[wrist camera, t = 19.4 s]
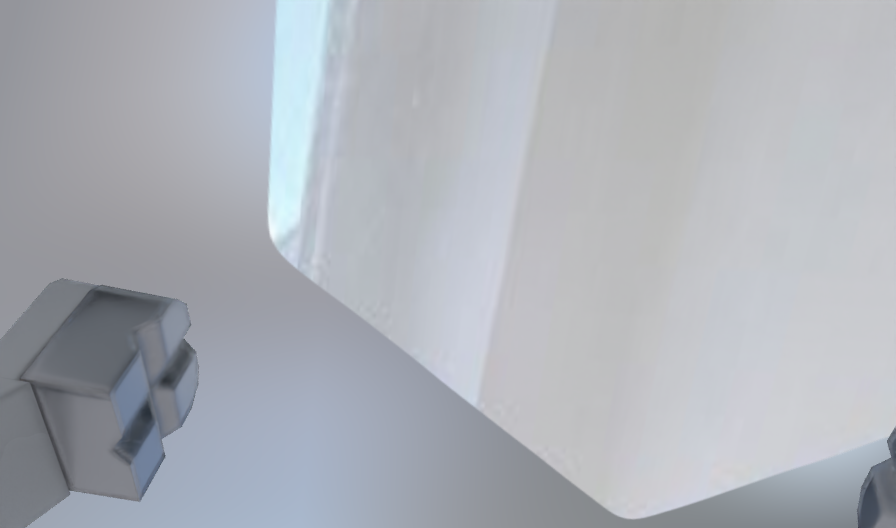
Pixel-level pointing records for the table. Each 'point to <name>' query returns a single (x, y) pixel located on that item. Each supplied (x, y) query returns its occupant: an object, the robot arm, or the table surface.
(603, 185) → the table surface
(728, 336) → the table surface
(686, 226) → the table surface
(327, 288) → the table surface
